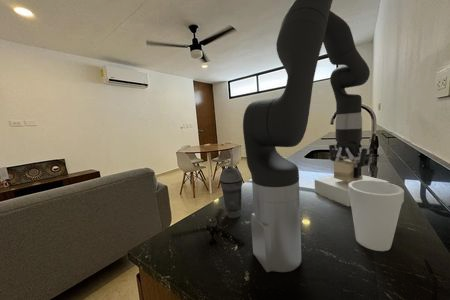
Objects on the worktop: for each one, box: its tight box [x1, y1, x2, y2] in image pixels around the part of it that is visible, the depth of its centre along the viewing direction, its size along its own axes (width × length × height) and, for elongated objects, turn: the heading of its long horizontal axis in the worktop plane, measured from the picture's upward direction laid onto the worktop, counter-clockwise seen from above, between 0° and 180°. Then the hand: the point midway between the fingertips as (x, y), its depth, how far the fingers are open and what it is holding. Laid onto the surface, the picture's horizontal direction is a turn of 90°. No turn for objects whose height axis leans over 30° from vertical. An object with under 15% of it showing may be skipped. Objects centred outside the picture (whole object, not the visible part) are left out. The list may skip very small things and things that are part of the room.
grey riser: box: [314, 174, 390, 207], centre depth 69 cm, size 18×14×5 cm
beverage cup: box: [219, 153, 244, 219], centre depth 60 cm, size 7×7×20 cm
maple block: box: [333, 159, 364, 182], centre depth 66 cm, size 6×6×6 cm
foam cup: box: [348, 180, 405, 252], centre depth 42 cm, size 10×9×13 cm
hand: (347, 175), depth 67 cm, fingers closed on maple block, 6 cm apart
